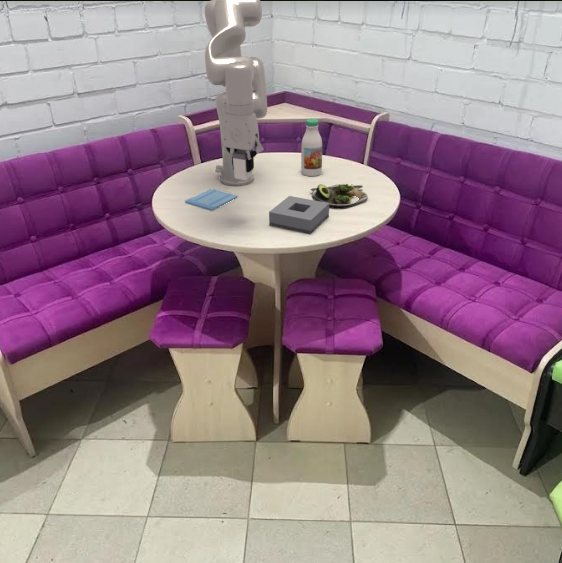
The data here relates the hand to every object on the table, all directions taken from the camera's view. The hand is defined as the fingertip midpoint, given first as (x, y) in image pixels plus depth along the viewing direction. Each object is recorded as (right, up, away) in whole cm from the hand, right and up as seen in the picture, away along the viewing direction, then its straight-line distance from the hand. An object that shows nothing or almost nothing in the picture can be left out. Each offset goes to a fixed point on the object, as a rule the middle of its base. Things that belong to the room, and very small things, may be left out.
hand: (243, 169), depth 170 cm
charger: (0, -2, +1) cm, 2 cm away
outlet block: (+17, -15, +6) cm, 24 cm away
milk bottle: (+23, +7, +42) cm, 49 cm away
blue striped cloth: (-12, -7, +22) cm, 26 cm away
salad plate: (+31, -6, +22) cm, 38 cm away
